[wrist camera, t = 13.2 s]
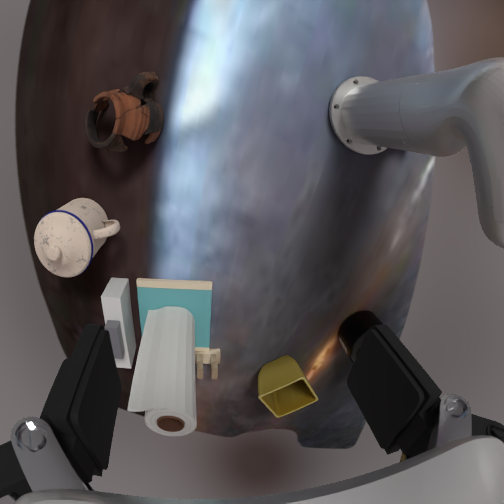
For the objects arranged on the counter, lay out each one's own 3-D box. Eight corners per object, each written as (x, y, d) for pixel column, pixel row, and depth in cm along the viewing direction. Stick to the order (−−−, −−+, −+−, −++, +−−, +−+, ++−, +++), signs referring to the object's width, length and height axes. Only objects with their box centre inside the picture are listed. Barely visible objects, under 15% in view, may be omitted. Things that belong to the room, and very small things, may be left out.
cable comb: (219, 348, 52) (222, 369, 47) (219, 358, 53) (221, 378, 48) (165, 347, 50) (163, 368, 45) (166, 356, 51) (164, 377, 46)
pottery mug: (150, 162, 39) (108, 169, 32) (114, 131, 40) (72, 134, 32) (191, 88, 33) (149, 78, 26) (147, 62, 34) (106, 53, 27)
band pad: (212, 281, 47) (212, 283, 46) (209, 350, 52) (209, 352, 51) (137, 278, 44) (136, 280, 44) (144, 347, 50) (143, 350, 49)
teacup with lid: (68, 256, 41) (37, 291, 30) (54, 202, 38) (15, 225, 27) (134, 244, 42) (115, 280, 32) (121, 186, 39) (95, 205, 28)
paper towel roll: (201, 325, 49) (207, 430, 29) (172, 339, 49) (165, 442, 30) (179, 293, 46) (170, 398, 26) (148, 309, 46) (126, 412, 27)
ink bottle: (328, 343, 56) (352, 385, 45) (346, 307, 53) (376, 346, 42) (366, 345, 58) (391, 382, 47) (383, 311, 56) (415, 346, 45)
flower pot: (268, 386, 58) (277, 419, 50) (249, 363, 55) (257, 397, 46) (305, 369, 58) (319, 400, 50) (290, 343, 54) (304, 376, 46)
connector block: (128, 278, 44) (116, 305, 37) (136, 346, 49) (129, 376, 42) (111, 277, 44) (97, 303, 36) (121, 345, 49) (112, 375, 41)
